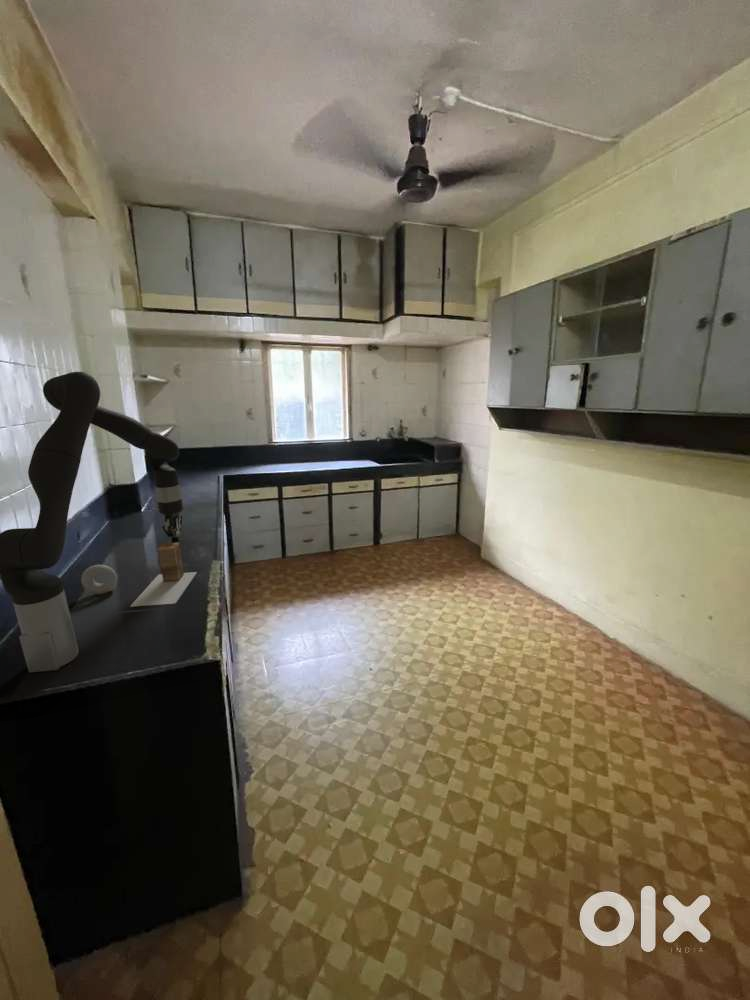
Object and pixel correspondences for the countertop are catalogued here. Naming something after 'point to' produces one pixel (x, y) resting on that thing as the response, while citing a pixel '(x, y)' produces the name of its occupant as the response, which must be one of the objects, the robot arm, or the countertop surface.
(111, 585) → the donut
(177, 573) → the walnut block
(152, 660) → the countertop surface
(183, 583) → the grey mat
